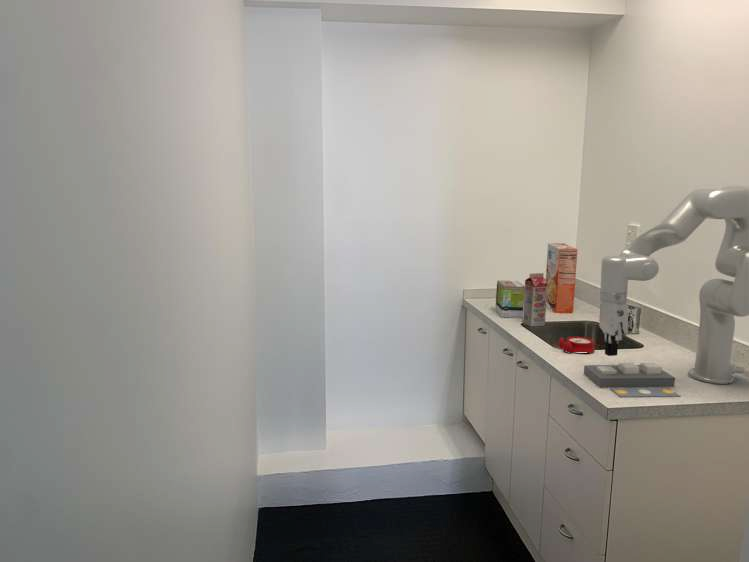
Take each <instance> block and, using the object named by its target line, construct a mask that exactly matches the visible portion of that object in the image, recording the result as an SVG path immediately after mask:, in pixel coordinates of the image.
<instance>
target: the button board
mask: <svg viewBox="0 0 749 562" xmlns="http://www.w3.org/2000/svg"><path fill="white" fill-rule="evenodd" d="M636 365H637V366H638V367H639V374H624V373H622V372H621V371H619V370H618V366H619V364H601V365H600V364H591V365H589V364H585V365H583V366H584V367H583V375H584V374H585V375H586V376H587V378H588V380H590V381H591V380H592V381H593V382H592V381H591V382H592V383H593V384H594V385H596V386H597V385H598V386H599V387H603V389H605V388H604V387H606V388H607V389H610V388H611V387H612V388H675V381H676V377H675V376H673V375H671V374H670V373H668V372H667V371H665V370H663V369H661V374H646V373H644V372H643V371H641V370H640V364H636ZM597 366H611V367H612V368H614V369H615V370H616V371H617V374H601V373H600V372H599V371H597V370H596V368H597ZM585 375H584V376H585ZM586 376H585V377H586ZM598 386H597V387H598ZM599 387H598V388H599ZM608 387H609V388H608Z"/></svg>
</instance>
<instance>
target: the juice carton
mask: <svg viewBox="0 0 749 562" xmlns="http://www.w3.org/2000/svg"><path fill="white" fill-rule="evenodd" d="M547 284H548V282H547V281H546V278H545V277H544V272H543V273H542V272H541V273H537V272H536V273H529V277H528V278H526V279H525V280H524V286H525V292H524V306H523V317H522V323H523V324H525V325H528V326H529V327H540V326H546V325H545V324H546V314H547V312H546V311H547V305H546V299H547Z"/></svg>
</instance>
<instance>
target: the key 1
mask: <svg viewBox="0 0 749 562" xmlns="http://www.w3.org/2000/svg"><path fill="white" fill-rule="evenodd" d="M596 370H597V371H599V372H600V373H601V374H617V371H616V370H615V369H614V368H612V367H611V366H597V368H596Z"/></svg>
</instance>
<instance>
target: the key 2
mask: <svg viewBox="0 0 749 562" xmlns="http://www.w3.org/2000/svg"><path fill="white" fill-rule="evenodd" d="M639 365H640V370H641V371H643V372H644V373H646V374H661V369H662V367H663V366H661V365H658V364H657V363H655V362H640V364H639ZM662 370H663V369H662Z"/></svg>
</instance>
